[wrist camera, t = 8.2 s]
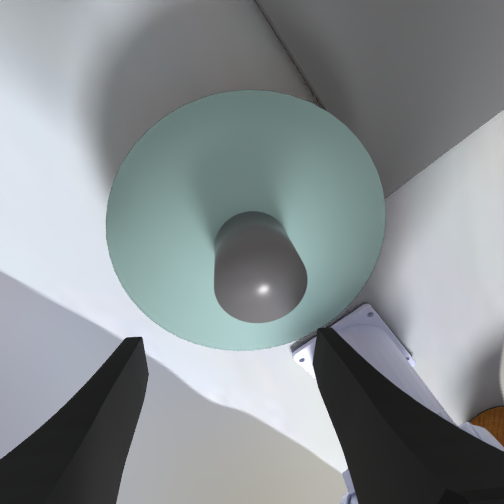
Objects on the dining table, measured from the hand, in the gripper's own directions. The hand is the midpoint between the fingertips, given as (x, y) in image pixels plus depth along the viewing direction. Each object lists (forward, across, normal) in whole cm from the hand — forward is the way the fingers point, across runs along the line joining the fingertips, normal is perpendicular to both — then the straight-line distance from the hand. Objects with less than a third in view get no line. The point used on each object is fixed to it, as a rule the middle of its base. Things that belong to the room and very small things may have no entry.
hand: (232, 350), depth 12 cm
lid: (+6, -1, -2) cm, 6 cm away
